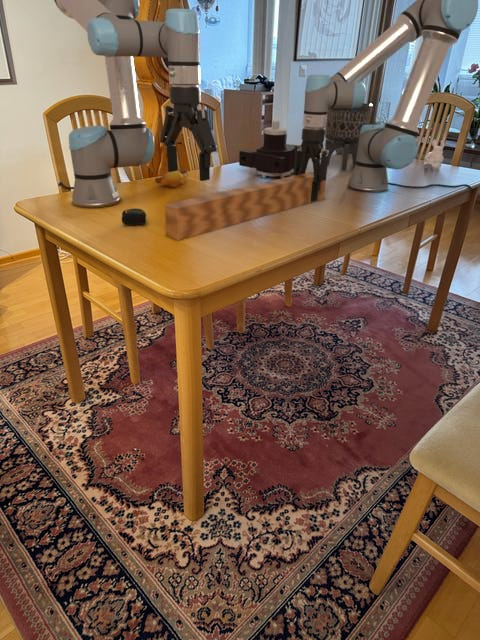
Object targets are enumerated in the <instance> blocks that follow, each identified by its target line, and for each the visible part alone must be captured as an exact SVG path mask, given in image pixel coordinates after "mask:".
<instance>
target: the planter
mask: <svg viewBox="0 0 480 640" xmlns="http://www.w3.org/2000/svg"><path fill="white" fill-rule="evenodd" d="M373 107H374V106H373V104H372V103H367V102H364V103H363V105H362V106H361V107H359V108H352V109H351V108H328V110H327V119H326V127H325V128H324V129H325V137H324V139H325V140H324V141H325V144H324V149H326V150H330V154H329V157H328V165H330V163H331V158H332V156H333V154H334V153H335V151H336V149H338V148H340V147H342V154H341V166H340V170H341V172H345V171H347V167H348V166H347V165H348V159H349V154H348V152H349V150H350V151H351V153H352V154H351V157H352V158H351V159H352V160H351V161H352V166H353V167H355V165H356V158H357V151H358V143H359V134H360V131H361V127H362V126H363V125H370V121H371V116H372V112H373ZM328 165H327V166H328Z"/></svg>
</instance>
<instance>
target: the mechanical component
mask: <svg viewBox="0 0 480 640" xmlns="http://www.w3.org/2000/svg"><path fill="white" fill-rule="evenodd" d="M287 138H288V129H287V128H286V127H280V121H279V120H272V126H271V127H265V128H264V129H263V145H262V146H258V147H257V148H256V151H250V150H245V149H241V150H239V153H238V154H239V155H238V157H239V159H238V166H240V167H245V168H250V169H255V173H256V174H257V175H261V177H262V178H267V177H279V179H282V178H285V176H291V175H292V174H293V170H294V160H295V149H294V147H295V146H297V145H298V144H290V143H287ZM302 155H303V150H302ZM301 161H302V160H301Z"/></svg>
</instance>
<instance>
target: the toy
mask: <svg viewBox="0 0 480 640" xmlns="http://www.w3.org/2000/svg"><path fill="white" fill-rule="evenodd" d="M188 177H189V172H188V170H187V169H182V170H178V171H173V172H168V171H166V172H164V174H163V175H161V176H160V177H156V178H154V182H155V183H157V184H161V185H163V186H167V187H169V188H179V187H182V186H184V185H186V183H187V178H188Z"/></svg>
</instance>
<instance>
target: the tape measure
mask: <svg viewBox="0 0 480 640" xmlns="http://www.w3.org/2000/svg"><path fill="white" fill-rule="evenodd" d="M146 218H147V214H146V212H145V210H144V209H142V208H137V207H135V208H127V209H125V210H123V211H122V213H121V222H122V224H124V225H129V226H130V225H131V226H137V225H146V224H147V219H146Z"/></svg>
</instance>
